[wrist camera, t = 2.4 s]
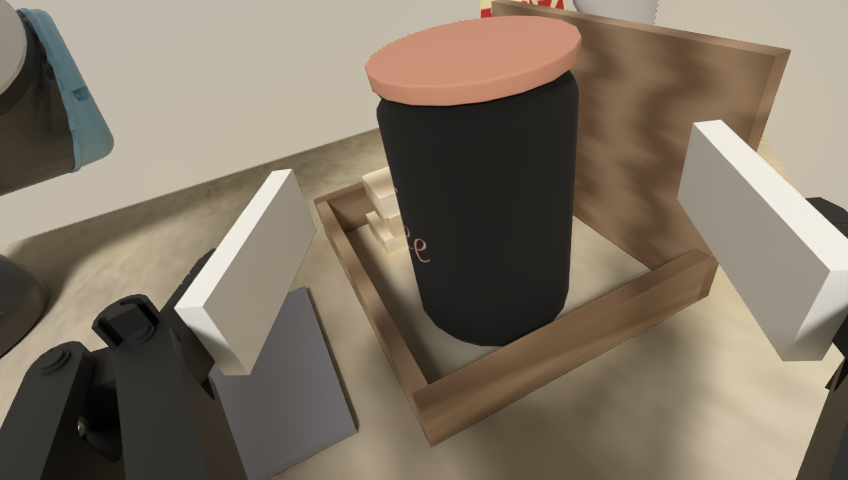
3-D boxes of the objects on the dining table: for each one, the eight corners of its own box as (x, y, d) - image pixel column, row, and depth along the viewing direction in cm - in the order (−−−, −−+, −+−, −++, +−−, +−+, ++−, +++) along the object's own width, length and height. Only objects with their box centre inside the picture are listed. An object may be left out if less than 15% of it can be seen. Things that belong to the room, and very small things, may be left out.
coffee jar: (442, 246, 38) (402, 26, 27) (570, 253, 35) (583, 6, 24) (404, 344, 31) (327, 92, 20) (564, 366, 27) (580, 77, 16)
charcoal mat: (130, 365, 33) (126, 360, 33) (307, 291, 37) (304, 286, 36) (106, 561, 23) (99, 557, 22) (357, 432, 26) (354, 427, 26)
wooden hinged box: (326, 233, 43) (262, 67, 33) (509, 161, 48) (501, -2, 38) (431, 447, 25) (359, 219, 15) (708, 295, 30) (791, 49, 20)
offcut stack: (370, 231, 42) (354, 177, 39) (486, 184, 45) (481, 130, 42) (389, 259, 39) (373, 202, 35) (514, 205, 42) (511, 149, 38)
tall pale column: (626, 124, 50) (658, -124, 36) (657, 135, 47) (704, -130, 33) (553, 156, 47) (558, -99, 33) (581, 171, 44) (599, -104, 30)
